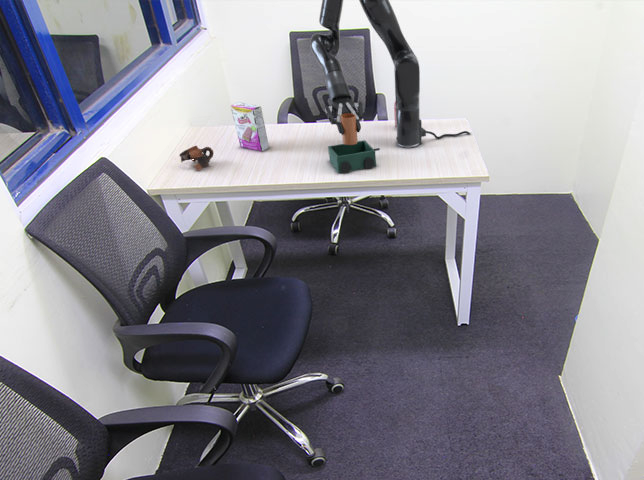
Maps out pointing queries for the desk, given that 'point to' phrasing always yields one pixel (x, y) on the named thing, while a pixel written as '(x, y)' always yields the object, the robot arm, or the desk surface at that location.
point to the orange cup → (349, 128)
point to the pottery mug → (197, 156)
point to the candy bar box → (250, 126)
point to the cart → (351, 155)
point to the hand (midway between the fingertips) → (350, 132)
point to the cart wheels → (368, 164)
